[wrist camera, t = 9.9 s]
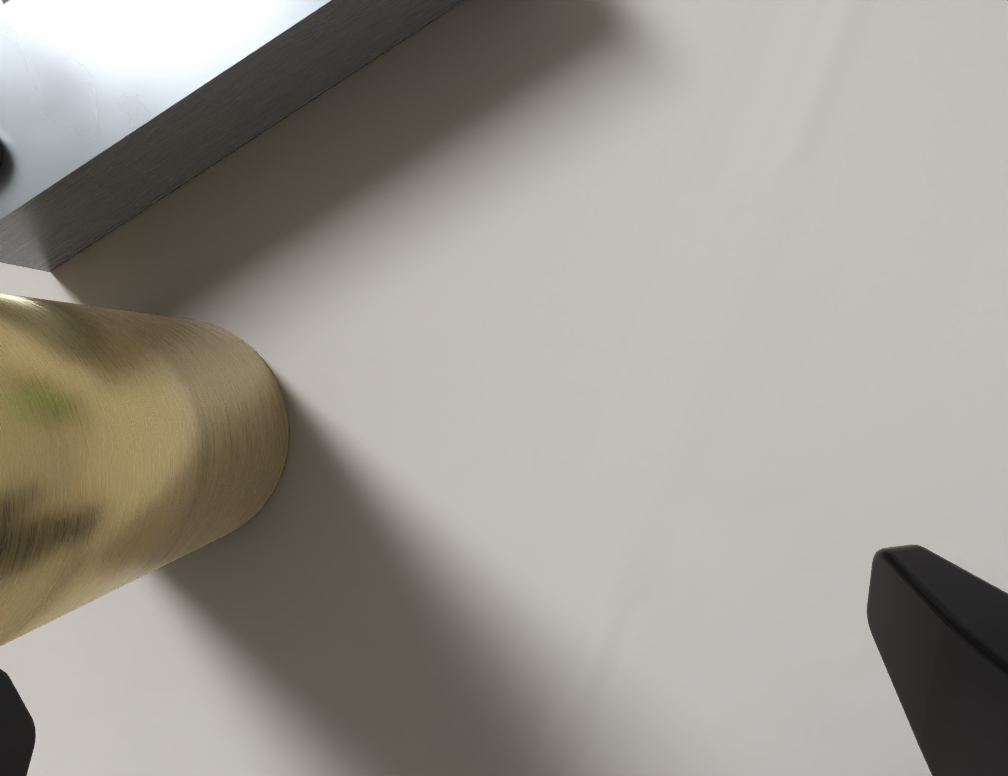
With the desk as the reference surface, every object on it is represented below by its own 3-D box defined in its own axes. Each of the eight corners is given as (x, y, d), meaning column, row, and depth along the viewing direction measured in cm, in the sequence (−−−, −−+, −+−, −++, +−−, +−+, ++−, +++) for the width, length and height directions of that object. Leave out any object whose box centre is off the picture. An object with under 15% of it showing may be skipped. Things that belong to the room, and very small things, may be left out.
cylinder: (335, 471, 18) (-6, 623, 7) (142, 589, 19) (-461, 908, 8) (214, 272, 18) (-304, 125, 7) (25, 394, 19) (-741, 428, 8)
